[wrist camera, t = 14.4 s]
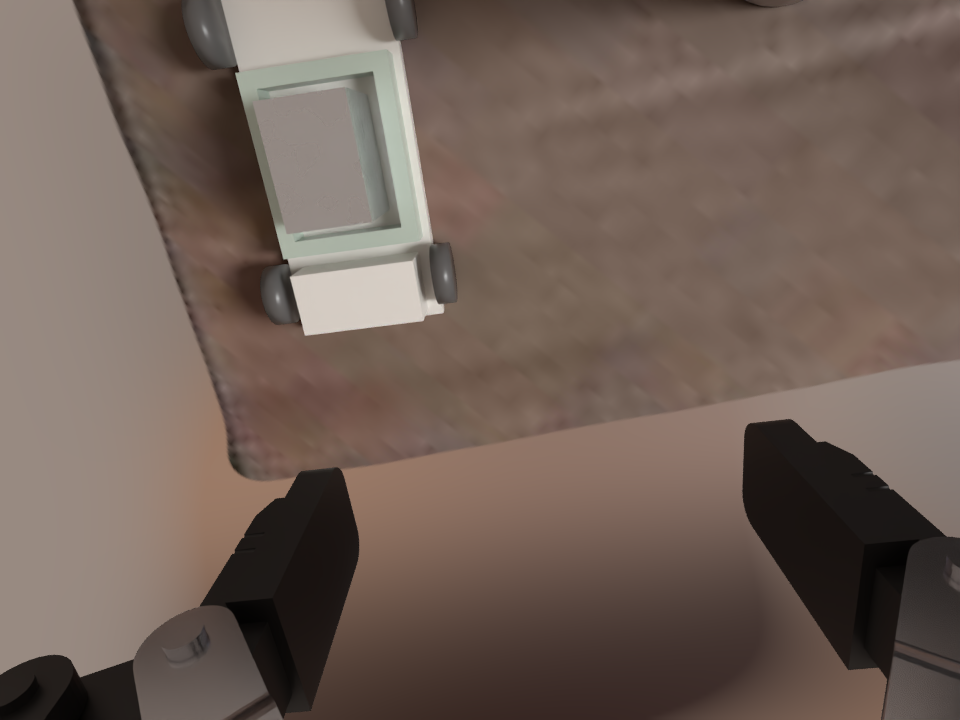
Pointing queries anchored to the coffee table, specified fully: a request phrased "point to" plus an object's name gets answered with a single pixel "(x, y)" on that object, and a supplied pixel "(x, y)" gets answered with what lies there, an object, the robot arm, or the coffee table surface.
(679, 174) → the coffee table surface
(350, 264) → the chassis
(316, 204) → the block
